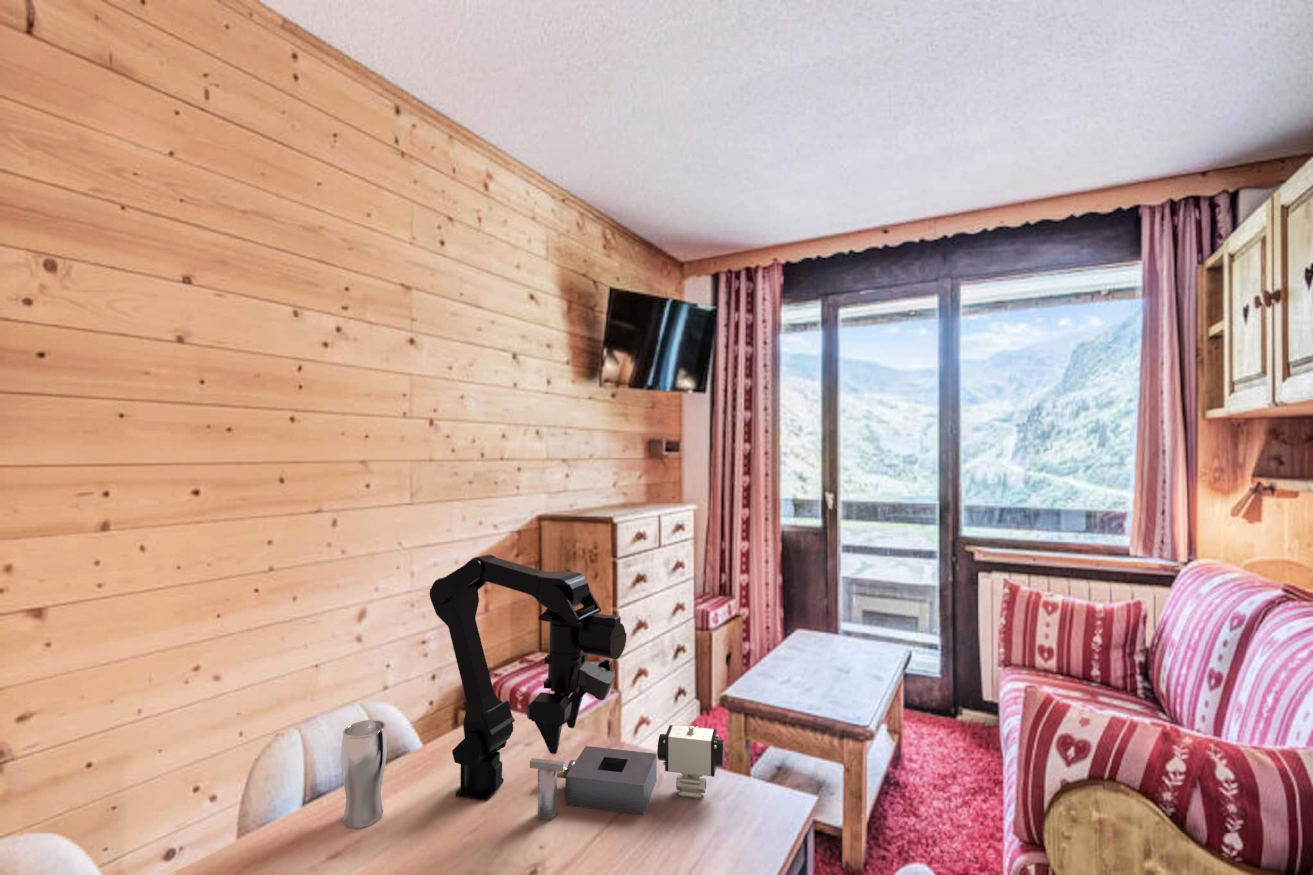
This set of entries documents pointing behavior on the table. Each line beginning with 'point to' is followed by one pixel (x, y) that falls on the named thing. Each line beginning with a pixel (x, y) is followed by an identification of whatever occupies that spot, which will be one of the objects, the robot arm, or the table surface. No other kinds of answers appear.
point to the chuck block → (610, 780)
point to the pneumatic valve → (691, 756)
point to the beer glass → (363, 772)
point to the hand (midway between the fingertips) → (562, 739)
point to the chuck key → (547, 786)
